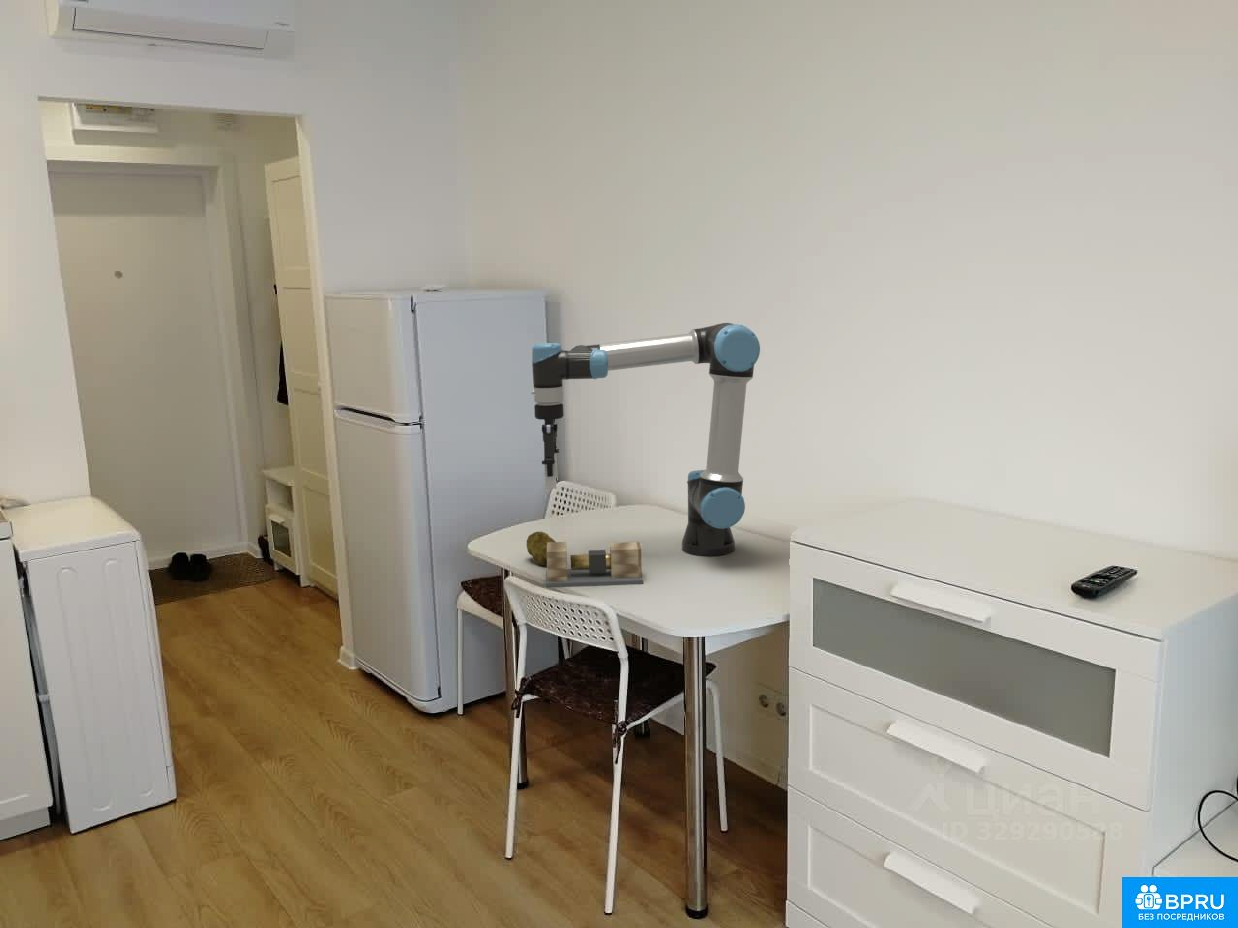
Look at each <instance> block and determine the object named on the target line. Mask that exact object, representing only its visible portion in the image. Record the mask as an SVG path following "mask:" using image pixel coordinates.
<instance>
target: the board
mask: <svg viewBox="0 0 1238 928" xmlns="http://www.w3.org/2000/svg"><path fill="white" fill-rule="evenodd" d="M545 573H546V574H545V588H559V587H561V588H565V587H588V586H589V587H590V586H591V587H593V586H616V585H617V586H619V585H622V586H623V585H624V586H625V585H644V577H643V576H642V577H632V578H612V577H611V569H606V573H596V574H589V570H571V568H567V581H550V582H548V577H547V571H546V572H545Z"/></svg>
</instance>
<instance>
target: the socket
mask: <svg viewBox="0 0 1238 928" xmlns="http://www.w3.org/2000/svg"><path fill="white" fill-rule="evenodd" d="M567 555H568V554H567V541H555V542H547V566H546V572H547V577H548V582H550V581H567V569H568V560H567V559H568V556H567Z"/></svg>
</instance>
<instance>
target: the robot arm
mask: <svg viewBox="0 0 1238 928" xmlns="http://www.w3.org/2000/svg"><path fill="white" fill-rule="evenodd" d="M531 353H532V356H531V357H532V358H531V359H532V363H531V365H532V380H533V390H531V395H534V396H533V399H534V400H533V402H534V403H535V404H534V406H533V407H534V417H535V419H537V420H543V421H544V424H542V426H541V433H542V441H543V450H544V451H543V452H544V453H543V456H544V457H543V460H541V465H544V483H545V484H544V485H545V490H549V489H550V490H551V489H552V490H553V489H554V490H555V489H557V478H559V472H558V470H559V469H558V454H560V449H559V448H558V446H557V437H558V424H557V423H556V420H560V419H563V417H564V414H565V413H564V404H563V403H562V402H563V401H564V390H563V389H564V387H563V381H564V380H591V379H593V380H596V379H605V378H606V377H607V376H608V375H609V371H618V370H626V369H633V368H634V369H636V368H642V367H643V368H644V367H651V366H659V365H669V364H676V363H677V364H678V363H685V362H692V363H694V364H695V365H699V364H700V365H701V364H709V369H708V370H709V371H708V375H709V376H710V377H711V379H712V380H713V391H712V401H711V410H710V411H711V413H710V414H711V415H710V423H709V424H710V425H709V435H708V445H707V458H706V466H705V467H706V468H705V469H699V470H692V471H690V472H689V473H688V475H687V481H686V483H687V525H686V527H685V531H684V534H683V537H682V541H681V549H682V550H683V551H684V552H685V553H688V554H690V555H695V556H708V557H709V556H710V557H711V556H722V555H726V554H731V553H732V552H734V551H735V549H736V541H735V537H734V534H733V531H732V529H731V527H733V526H735V525H736V524H738V523H739V521H741V519H742V518H743V516H744V513H745V511H746V510H745V509H746V503H745V500H744V496H743V484H744V483H743V482H744V477H743V476H742V475H741V474H740V473H739V466H740V465H739V464H740V455H741V447H742V446H741V444H742V434H743V424H744V413H745V402H746V391H747V384H748V383H749V381H751V380H752V379H754V369H755V364H756V363H757V361H758V360H759V358H760V354H761V344H760V341H759V339H758V337H757V336H756V334H755V333H754V331H752V330H751V329H750V328H748V327H747V326H745V325H743V324H739V323H738V324H736V323H731V322H723V323H718V324H717V323H716V324H713V325H710V326H705V327H699V328H692V329H691V330H690V331H689V332H688V333H683V334H682V333H680V334H671V335H666V336H658V337H649V338H639V339H632V340H630V339H629V340H623V341H614V342H607V343H599V344H590V345H585V344H580V345H575V346H574V347H572V348H571V349H570V350H564V349H563V348H562V345H561V344H560V343H558V342H545V343H543V342H542V343H541V342H540V343H537V344H534V345H533V347H532V352H531Z"/></svg>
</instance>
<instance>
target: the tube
mask: <svg viewBox="0 0 1238 928" xmlns="http://www.w3.org/2000/svg"><path fill="white" fill-rule="evenodd" d="M570 569H571V570H589V574H596V573H606V569H611V554H610V553H606V549H591V550H590V549H588V554H570Z"/></svg>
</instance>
